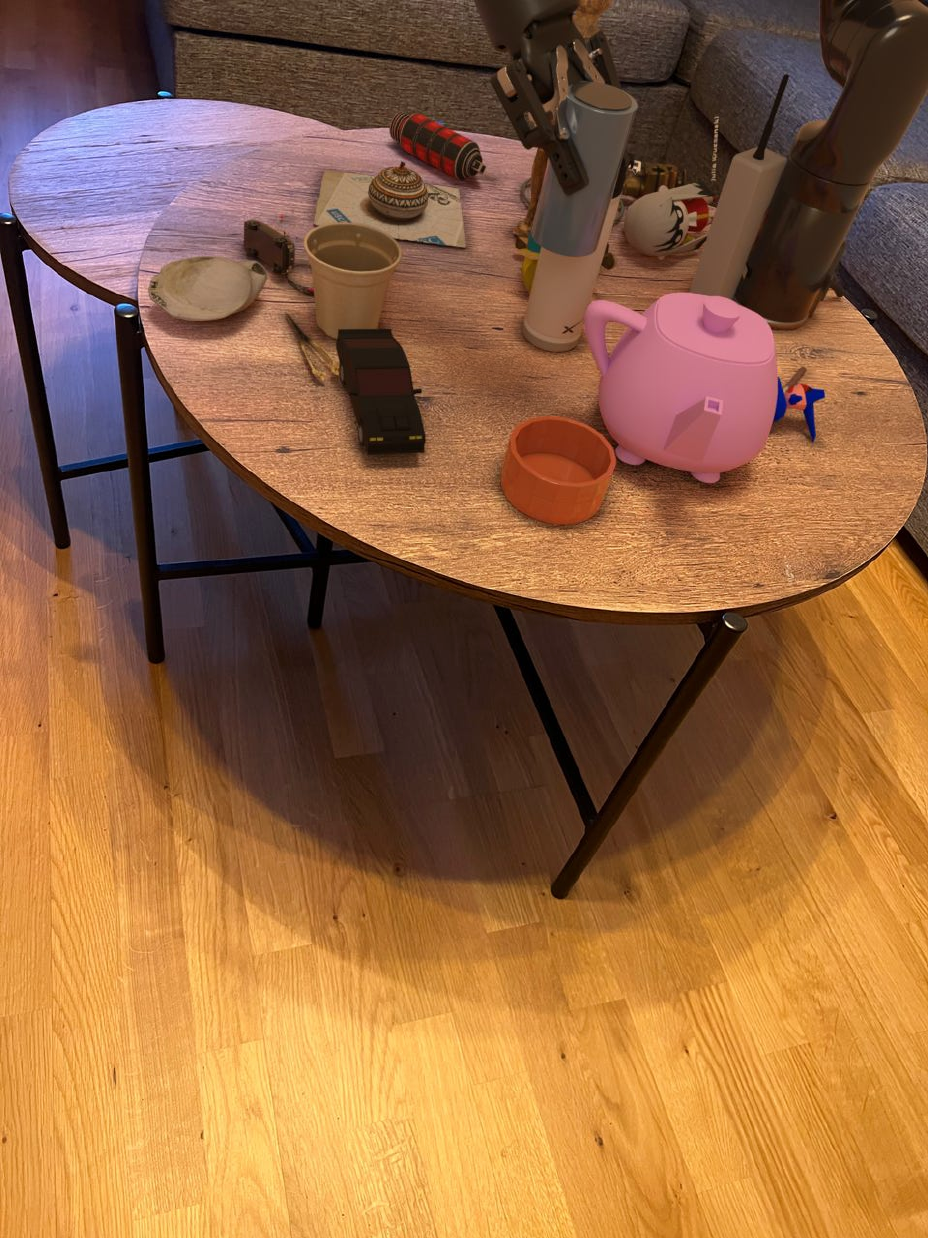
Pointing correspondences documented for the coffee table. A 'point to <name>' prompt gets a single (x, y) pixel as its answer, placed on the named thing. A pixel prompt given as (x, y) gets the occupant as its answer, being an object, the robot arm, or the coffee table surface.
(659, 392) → the teapot
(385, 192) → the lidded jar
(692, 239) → the toy
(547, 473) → the orange round bowl
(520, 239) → the toy
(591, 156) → the grey metal cylinder
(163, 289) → the seashell
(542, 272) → the travel mug
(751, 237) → the vintage mobile phone
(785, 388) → the pen
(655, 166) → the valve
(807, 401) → the figurine
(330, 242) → the flower pot
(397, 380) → the toy car
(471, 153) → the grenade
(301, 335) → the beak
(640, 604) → the coffee table surface
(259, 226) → the toy car
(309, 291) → the necklace
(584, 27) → the sculpture
